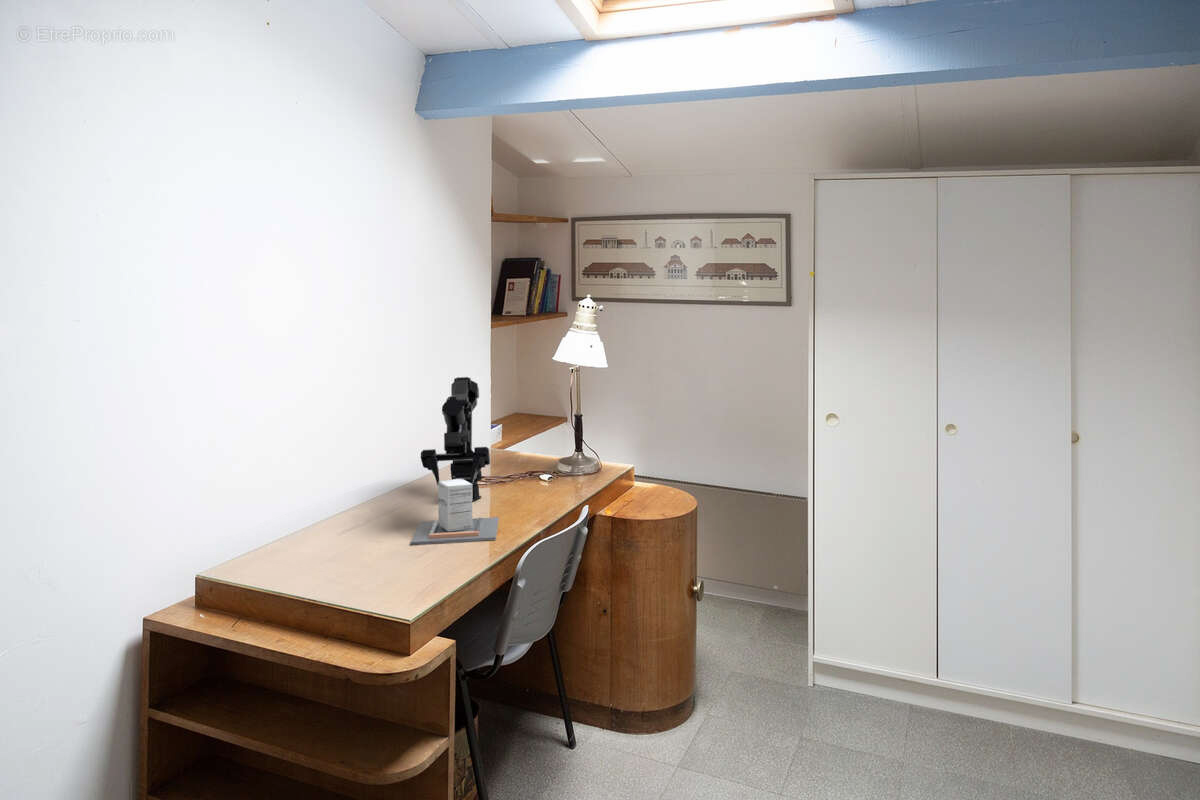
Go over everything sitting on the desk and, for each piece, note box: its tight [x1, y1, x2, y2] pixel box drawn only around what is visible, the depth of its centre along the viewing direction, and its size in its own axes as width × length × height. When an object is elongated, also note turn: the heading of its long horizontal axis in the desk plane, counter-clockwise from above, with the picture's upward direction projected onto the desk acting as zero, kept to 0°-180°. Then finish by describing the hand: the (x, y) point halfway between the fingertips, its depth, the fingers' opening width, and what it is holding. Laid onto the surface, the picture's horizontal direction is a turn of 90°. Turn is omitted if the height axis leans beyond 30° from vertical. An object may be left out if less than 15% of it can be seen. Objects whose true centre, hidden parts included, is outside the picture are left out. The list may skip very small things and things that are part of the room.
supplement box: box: [437, 479, 473, 532], centre depth 216 cm, size 7×7×13 cm
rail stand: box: [410, 516, 500, 546], centre depth 216 cm, size 18×22×2 cm
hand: (454, 483), depth 217 cm, fingers open, 9 cm apart
